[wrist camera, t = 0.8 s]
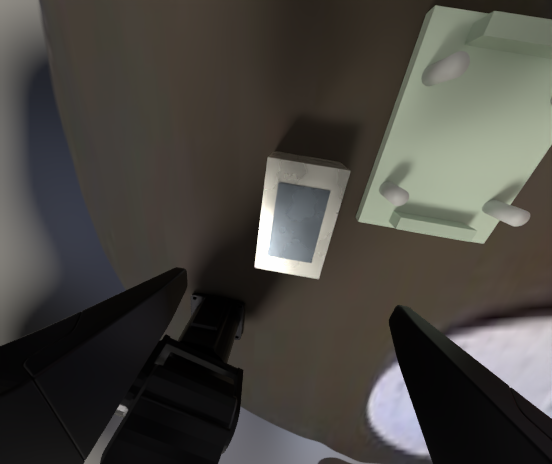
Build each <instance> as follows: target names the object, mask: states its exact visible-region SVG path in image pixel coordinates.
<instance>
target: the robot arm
mask: <svg viewBox="0 0 552 464" xmlns="http://www.w3.org/2000/svg"><path fill="white" fill-rule="evenodd" d="M186 288H187V271H186V269H184V268H177V267H176V268H174V269H171V270H169V271H167V272H165V273H163V274H161V275H158V276H156V277H154V278H152V279H150V280H148V281H146V282H143V283H141V284H139V285H137V286H135V287H133V288H130V289H128V290H126V291H124V292H122V293H120V294H118V295H115V296H113V297H111V298H109V299H107V300H105V301H103V302H100V303H98V304H96V305H94V306H92V307H89V308H87V309H85V310H83V311H82V312H79V313H77V314H74V315H72V316H70V317H68V318H66V319H63V320H61V321H59V322H57V323H54V324H52V325H50V326H48V327H46V328H43V329H41V330H38V331H36V332H34V333H31V334H29V335H26V336H24V337H22V338H19V339H17V340H14V341H12V342H10V343H7V344H5V345H2V346H0V464H84V460H86V458H87V457H88V455H89V454H90V452H91V450H92V449H93V447H94V446H95V444H96V442H97V441H98V439H99V437H100V436H101V434H102V433H103V431H104V429H105V428H106V426H107V424H108V423H109V421H110V420H111V418H112V416H113V415H114V413H115V415H118V416H121V417H123V420H122V422H121V423H120V425H119V427H118V428H117V430H116V432H115V433H114V435H113V437H112V438H111V440H110V442H109V443H108V445H107V447H106V448H105V450H104V452H103V454H102V457H101V462H100V464H218V462H219V459H220V456H221V454H223V453H224V452H225V451H226V449H227V447H228V445H229V443H230V441H231V439H232V437H233V435H234V432H235V429H236V426H237V422H238V417H239V413H240V404H241V392H242V380H243V370H242V369H240V368H236V367H233V366H231V365H229V364H227V362H228V358H229V355H230V352H231V349H232V345H233V342H234V339H235V340H239V339H240V338H241V335H242V326H243V317H244V308H245V303H244V302H242V301H238V300H232V299H227V298H221V297H216V296H211V295H205V294H200V293H193V294H192V296H191V318H190V320H189V322H188V323H187V325H186V327H185V329H184V330H183V332H182V334H181V336H180V337H179V339H178V341H177V340H174V339H172V338H170V336H168V335H165V336H164V337H163V339H162V340H161V341H159V340H160V338H161V337H162V335H163V333H164V332H165V330H166V329H167V327H168V325H169V324H170V322H171V320H172V318H173V316H174V314H175V312H176V310H177V308H178V305H179V303H180V301H181V299H182V297H183V295H184V293H185V291H186ZM240 305H241V306H240ZM389 326H390V331H391V335H392V339H393V343H394V347H395V352H396V356H397V360H398V363H399V366H400V369H401V372H402V375H403V378H404V381H405V384H406V387H407V390H408V393H409V395H410V398H411V401H412V404H413V407H414V410H415V413H416V416H417V419H418V422H419V425H420V428H421V430H422V433H423V436H424V439H425V442H426V445H427V448H428V451H429V454H430V457H431V460H432V462H433V464H552V419H551V418H550V417H549V416H547V415H546V414H545V413H543V412H542V411H541V410H539V409H538V408H537V407H536V406H534V405H533V404H532V403H530V402H529V401H528V400H526V399H525V398H524V397H523V396H521V395H520V394H519V393H518V392H516V391H515V390H514V389H512V388H510V387H509V386H508V385H507V384H506V383H505V382H504V381H502V380H501V379H500V378H498V377H497V376H496V375H495V374H493V373H492V372H491V371H489V370H488V369H487V368H486V367H484V366H483V365H482V364H481V363H479V362H478V361H477V360H475V359H474V358H473V357H472V356H470V355H469V354H468V353H467V352H465V351H464V350H463V349H461V348H460V347H459V346H458V345H456V344H455V343H454V342H453V341H451V340H450V339H449V338H447V337H446V336H445V335H444V334H442V333H441V332H440V331H439V330H437V329H436V328H435V327H433V326H432V325H431V324H430V323H428V322H427V321H426V320H425V319H423V318H422V317H421V316H419V315H418V314H417V313H416V312H414V311H413V310H412V309H411V308H409V307H407V306H402V305H397V306H396V307H395V309H394V311H393V313H392V315H391V316H390V319H389ZM115 411H116V412H115Z"/></svg>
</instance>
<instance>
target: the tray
mask: <svg viewBox="0 0 552 464" xmlns="http://www.w3.org/2000/svg"><path fill="white" fill-rule="evenodd" d="M551 145H552V20H551V19H545V18H538V17H532V16H525V15H519V14H512V13H506V12H499V11H493V12H492V13H490V14H489V13H482V12H476V11H469V10H463V9H456V8H450V7H443V6H437V5H435V6H434V7H433V8H432V9H431V10H430V11H429V12H428V13H426V16H425V19H424V22H423V25H422V27H421V30H420V33H419V36H418V39H417V42H416V45H415V48H414V50H413V53H412V56H411V59H410V62H409V65H408V68H407V71H406V74H405V76H404V79H403V82H402V85H401V88H400V91H399V94H398V97H397V99H396V102H395V105H394V108H393V111H392V114H391V117H390V120H389V122H388V125H387V128H386V131H385V134H384V137H383V140H382V143H381V146H380V148H379V151H378V154H377V157H376V160H375V163H374V166H373V169H372V171H371V174H370V177H369V180H368V183H367V186H366V189H365V192H364V194H363V197H362V200H361V203H360V206H359V209H358V212H357V215H356V219H357V220H358V222H363V223H369V224H374V225H380V226H386V227H391V228H395V229H400V230H405V231H411V232H417V233H422V234H428V235H434V236H439V237H445V238H451V239H456V240H462V241H468V242H476V243H482V244H484V243H485V241H486V240H487V238H488V237H489V235H490V234H491V232H492V231H493V229H494V228H495V226H496V225H497V224H498V222H499V221H500V220H501V221H503V222H505V223H507V224H510V225H512V226H521V225H523V224H525V223H526V222H527V221H528V220H529V218H530V213H529V212H528V211H525V210H523V209H520V208H517V207H514V206H512V205H511V203H512V202H513V200H514V199H515V197H516V196H517V194H518V193H519V192H520V190H521V189H522V187H523V186H524V184H525V183H526V181H527V180H528V178H529V177H530V175H531V174H532V173H533V171H534V170H535V168H536V167H537V165H538V164H539V162H540V161H541V159H542V158H543V157H544V155H545V154H546V152H547V151H548V149H549V148H550V146H551Z"/></svg>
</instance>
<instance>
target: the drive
mask: <svg viewBox="0 0 552 464" xmlns="http://www.w3.org/2000/svg"><path fill="white" fill-rule="evenodd" d="M350 172H351V171H350V170H349V169H348V168H347V167H345V166H344V165H343V164H342V163H340V162H338V161H332V160H326V159H320V158H314V157H308V156H302V155H296V154H290V153H283V152H277V151H274V152H273V153H272V154H271V155H269V156H268V159H267V167H266V175H265V184H264V192H263V200H262V209H261V217H260V225H259V233H258V242H257V250H256V258H255V267H254V268H258V269H264V270H270V271H275V272H281V273H287V274H292V275H298V276H304V277H309V278H315V279H319V276H320V273H321V270H322V266H323V263H324V259H325V256H326V253H327V249H328V246H329V243H330V239H331V236H332V232H333V229H334V226H335V222H336V219H337V216H338V212H339V209H340V205H341V202H342V199H343V195H344V192H345V189H346V185H347V182H348V179H349V175H350Z"/></svg>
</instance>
